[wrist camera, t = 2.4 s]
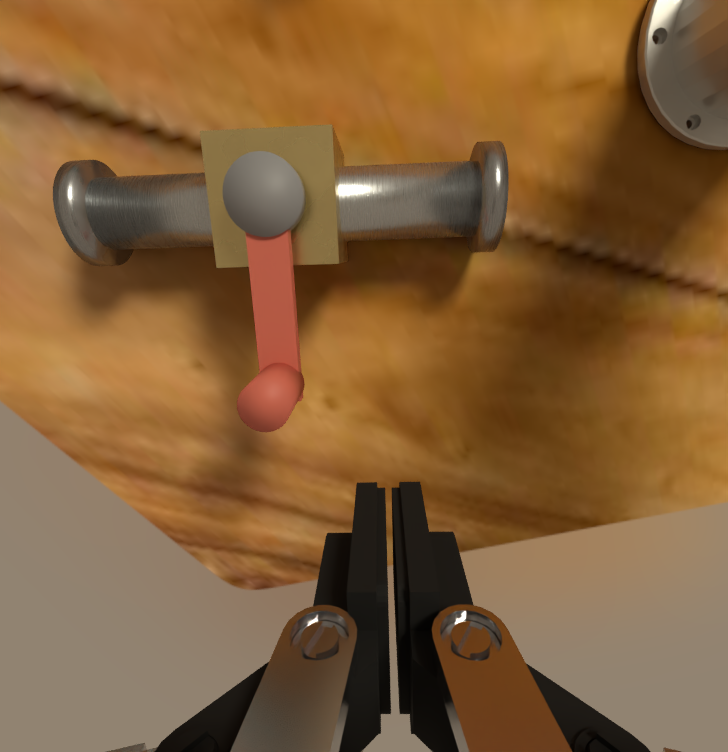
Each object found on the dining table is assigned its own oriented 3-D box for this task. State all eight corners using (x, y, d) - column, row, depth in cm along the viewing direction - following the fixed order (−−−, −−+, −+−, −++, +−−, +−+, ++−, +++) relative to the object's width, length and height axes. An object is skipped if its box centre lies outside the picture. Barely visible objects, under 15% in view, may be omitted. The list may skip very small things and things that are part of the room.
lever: (226, 157, 23) (187, 134, 18) (303, 154, 23) (283, 129, 18) (252, 401, 26) (226, 432, 22) (319, 400, 26) (306, 431, 22)
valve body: (484, 148, 30) (520, 112, 22) (480, 256, 32) (512, 257, 24) (108, 165, 31) (18, 137, 23) (126, 268, 33) (48, 274, 25)
